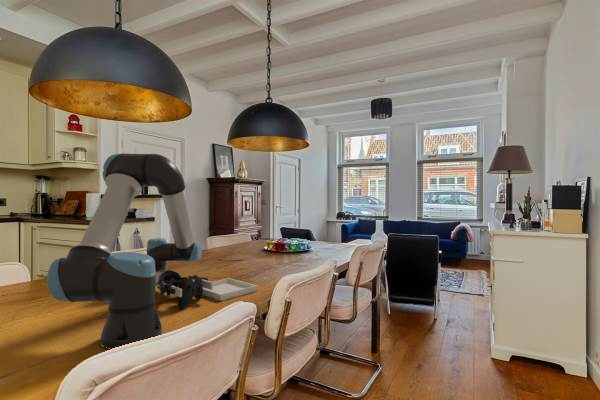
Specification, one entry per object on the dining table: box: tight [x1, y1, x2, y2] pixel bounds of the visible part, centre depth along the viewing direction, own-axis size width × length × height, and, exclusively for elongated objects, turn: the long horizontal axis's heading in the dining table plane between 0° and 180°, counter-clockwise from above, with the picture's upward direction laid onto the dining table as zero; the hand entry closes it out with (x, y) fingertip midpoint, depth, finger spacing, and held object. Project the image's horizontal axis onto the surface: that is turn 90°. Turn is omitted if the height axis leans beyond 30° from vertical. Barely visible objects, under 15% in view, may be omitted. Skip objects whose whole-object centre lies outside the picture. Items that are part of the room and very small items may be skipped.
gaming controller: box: [177, 274, 204, 310], centre depth 122 cm, size 14×6×10 cm, turn 168°
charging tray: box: [202, 277, 258, 302], centre depth 139 cm, size 18×19×2 cm
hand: (197, 289), depth 120 cm, fingers closed on gaming controller, 12 cm apart
